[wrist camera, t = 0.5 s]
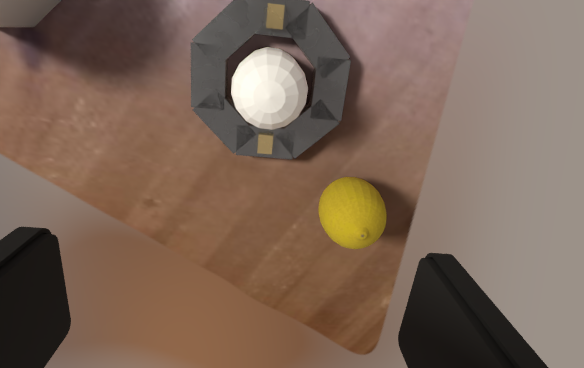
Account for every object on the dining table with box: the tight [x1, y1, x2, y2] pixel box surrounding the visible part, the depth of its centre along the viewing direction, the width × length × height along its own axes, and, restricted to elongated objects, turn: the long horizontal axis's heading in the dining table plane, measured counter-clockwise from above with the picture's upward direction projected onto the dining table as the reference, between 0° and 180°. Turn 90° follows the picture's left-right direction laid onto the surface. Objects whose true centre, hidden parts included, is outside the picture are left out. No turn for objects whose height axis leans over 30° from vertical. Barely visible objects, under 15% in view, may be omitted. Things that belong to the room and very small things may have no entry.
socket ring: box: [191, 0, 351, 159], centre depth 28 cm, size 12×12×2 cm
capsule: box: [231, 47, 308, 130], centre depth 26 cm, size 5×5×8 cm
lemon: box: [319, 177, 387, 249], centre depth 30 cm, size 6×6×8 cm
